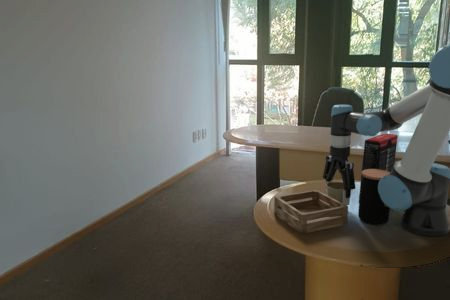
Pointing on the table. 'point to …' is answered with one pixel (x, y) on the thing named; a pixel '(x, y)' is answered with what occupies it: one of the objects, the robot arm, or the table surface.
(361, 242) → the table surface
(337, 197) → the flower pot
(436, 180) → the robot arm
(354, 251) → the table surface
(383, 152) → the graphics card box
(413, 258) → the table surface
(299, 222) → the crate
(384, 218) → the coffee jar
